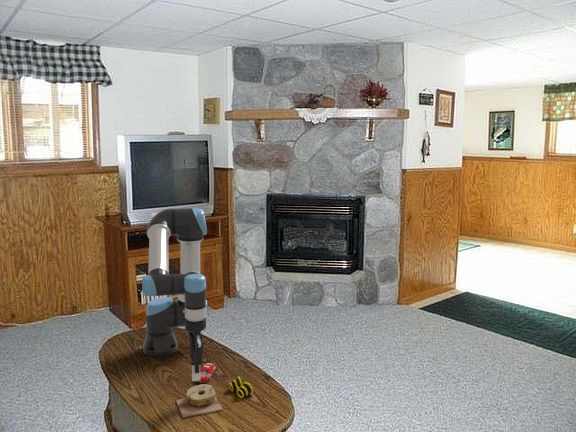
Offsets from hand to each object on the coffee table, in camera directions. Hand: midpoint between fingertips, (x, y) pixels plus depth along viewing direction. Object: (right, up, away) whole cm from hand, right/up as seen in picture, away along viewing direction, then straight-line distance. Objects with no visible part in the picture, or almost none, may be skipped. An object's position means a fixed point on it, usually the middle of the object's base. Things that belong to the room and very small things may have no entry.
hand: (196, 379), depth 178 cm
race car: (0, -6, +20) cm, 21 cm away
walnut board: (+2, -8, -2) cm, 9 cm away
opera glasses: (+15, -8, +8) cm, 19 cm away
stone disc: (-1, -5, +4) cm, 6 cm away
